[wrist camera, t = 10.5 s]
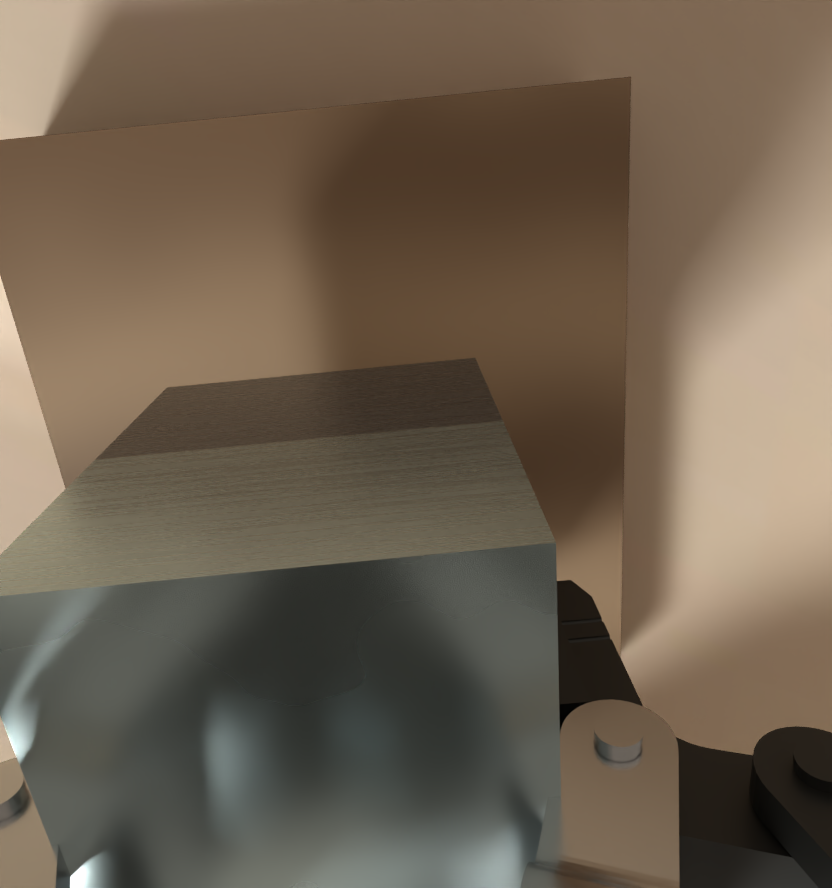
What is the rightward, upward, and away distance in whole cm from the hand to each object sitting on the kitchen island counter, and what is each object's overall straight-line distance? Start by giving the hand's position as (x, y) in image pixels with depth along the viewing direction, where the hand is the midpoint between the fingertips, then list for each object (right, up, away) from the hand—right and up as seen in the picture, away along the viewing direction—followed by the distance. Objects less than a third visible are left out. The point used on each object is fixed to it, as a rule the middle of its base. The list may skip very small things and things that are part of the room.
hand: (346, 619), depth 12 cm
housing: (0, 0, +1) cm, 1 cm away
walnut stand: (0, +3, +6) cm, 7 cm away
